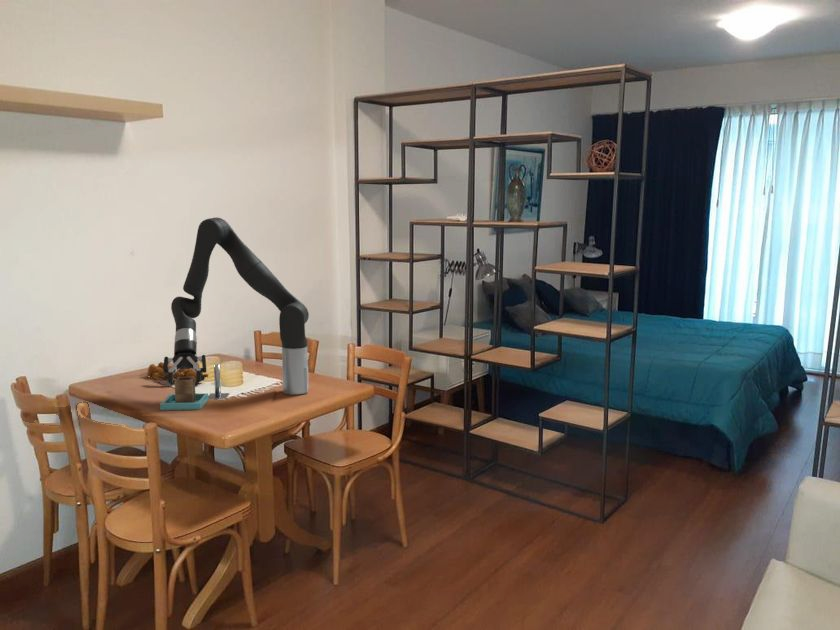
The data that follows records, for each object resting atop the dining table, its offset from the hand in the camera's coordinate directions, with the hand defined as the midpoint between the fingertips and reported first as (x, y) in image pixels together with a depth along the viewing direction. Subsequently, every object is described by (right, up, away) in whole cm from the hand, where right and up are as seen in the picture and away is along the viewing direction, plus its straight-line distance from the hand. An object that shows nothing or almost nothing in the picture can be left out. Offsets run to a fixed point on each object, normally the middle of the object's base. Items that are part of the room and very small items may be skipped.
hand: (184, 382), depth 226 cm
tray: (+1, -8, -1) cm, 8 cm away
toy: (-14, -3, +32) cm, 35 cm away
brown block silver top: (+9, -6, +9) cm, 14 cm away
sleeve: (+1, -7, -1) cm, 7 cm away
